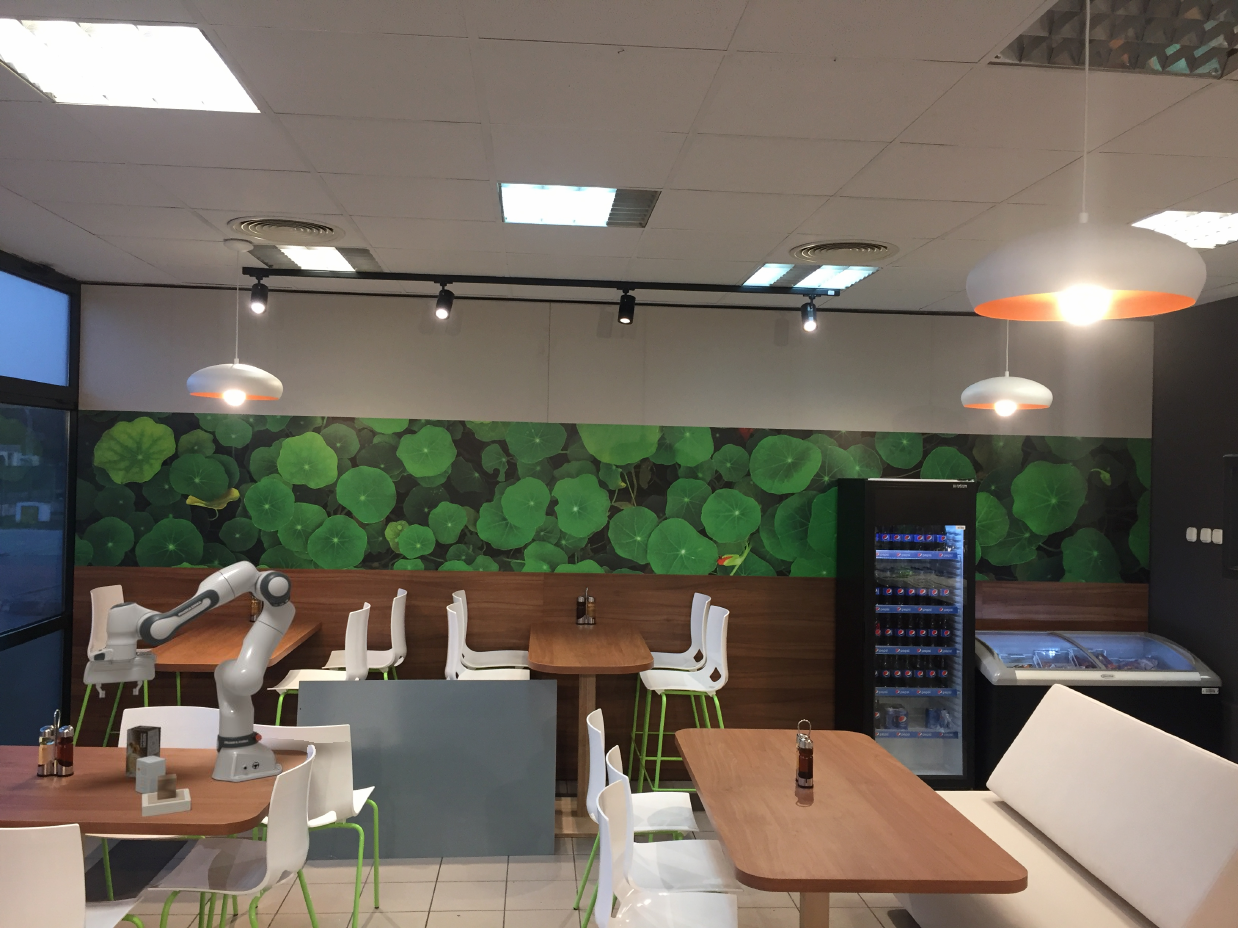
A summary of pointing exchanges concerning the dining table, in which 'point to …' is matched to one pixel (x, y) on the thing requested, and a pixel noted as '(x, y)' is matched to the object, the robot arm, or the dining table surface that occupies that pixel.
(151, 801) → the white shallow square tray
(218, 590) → the robot arm
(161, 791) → the walnut block
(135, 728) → the coffee box
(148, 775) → the small box
